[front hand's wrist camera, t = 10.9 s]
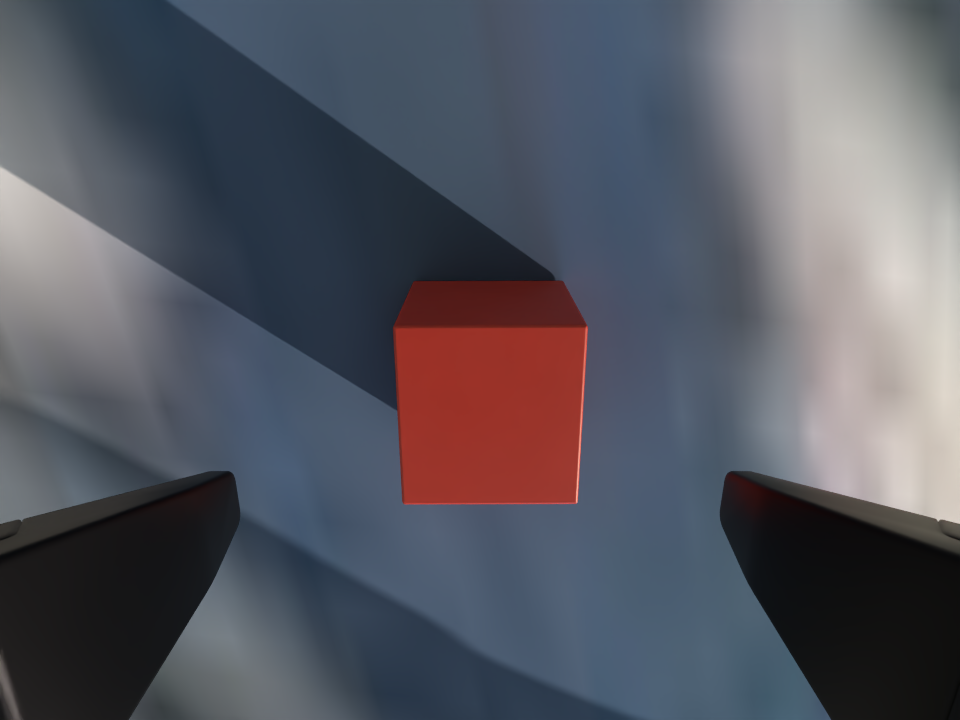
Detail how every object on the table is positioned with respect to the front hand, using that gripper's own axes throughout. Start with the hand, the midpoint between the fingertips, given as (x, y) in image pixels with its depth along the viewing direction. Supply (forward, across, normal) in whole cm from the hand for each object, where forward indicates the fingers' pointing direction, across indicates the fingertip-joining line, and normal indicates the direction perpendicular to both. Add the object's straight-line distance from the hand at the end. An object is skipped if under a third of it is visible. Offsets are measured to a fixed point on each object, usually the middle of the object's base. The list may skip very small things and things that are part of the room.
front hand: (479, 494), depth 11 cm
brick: (+7, 0, 0) cm, 7 cm away
